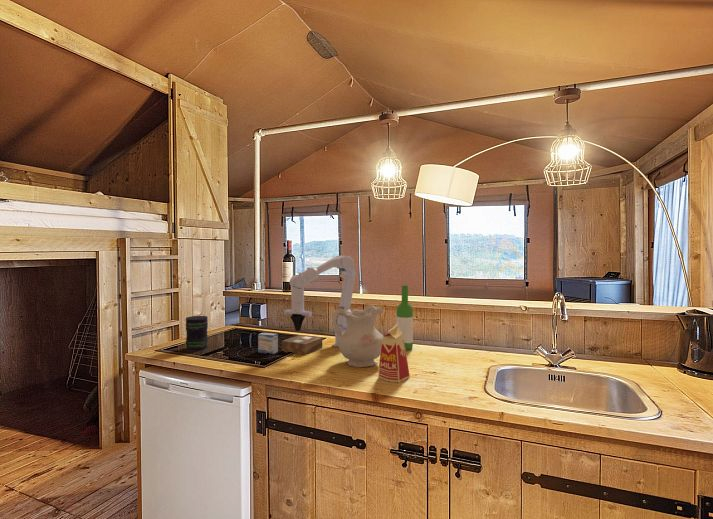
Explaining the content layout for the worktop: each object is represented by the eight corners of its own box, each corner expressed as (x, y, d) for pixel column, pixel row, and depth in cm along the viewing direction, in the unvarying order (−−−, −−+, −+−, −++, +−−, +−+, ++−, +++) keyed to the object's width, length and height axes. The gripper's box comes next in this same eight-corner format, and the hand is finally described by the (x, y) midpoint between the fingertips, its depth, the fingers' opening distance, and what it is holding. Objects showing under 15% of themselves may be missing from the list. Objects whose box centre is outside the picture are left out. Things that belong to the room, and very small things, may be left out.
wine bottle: (395, 346, 197) (396, 284, 196) (411, 346, 197) (412, 285, 196) (396, 350, 189) (397, 286, 188) (413, 350, 189) (413, 286, 188)
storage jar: (185, 347, 195) (185, 316, 194) (207, 345, 199) (206, 315, 198) (186, 352, 186) (185, 320, 185) (209, 350, 190) (208, 318, 189)
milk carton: (390, 372, 157) (390, 321, 156) (410, 377, 151) (411, 324, 150) (376, 378, 150) (376, 325, 149) (397, 384, 144) (397, 328, 143)
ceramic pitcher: (347, 376, 155) (350, 313, 152) (323, 360, 171) (325, 302, 169) (392, 367, 167) (395, 308, 164) (365, 353, 183) (368, 299, 181)
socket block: (322, 348, 194) (322, 337, 193) (305, 355, 181) (305, 344, 181) (300, 344, 200) (300, 334, 199) (282, 351, 187) (282, 340, 187)
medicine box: (258, 352, 185) (257, 334, 185) (263, 350, 189) (262, 332, 189) (273, 354, 183) (273, 335, 182) (278, 351, 187) (278, 333, 187)
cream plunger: (312, 347, 194) (312, 337, 194) (308, 349, 191) (308, 339, 191) (306, 346, 196) (305, 336, 196) (301, 348, 193) (301, 338, 193)
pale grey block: (304, 351, 188) (304, 340, 188) (299, 353, 185) (298, 342, 184) (297, 350, 190) (297, 339, 190) (291, 352, 186) (291, 341, 186)
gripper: (279, 301, 186) (280, 330, 187) (305, 303, 179) (305, 333, 180) (289, 299, 192) (289, 327, 193) (314, 301, 186) (314, 330, 186)
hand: (298, 330), depth 187 cm, fingers closed
